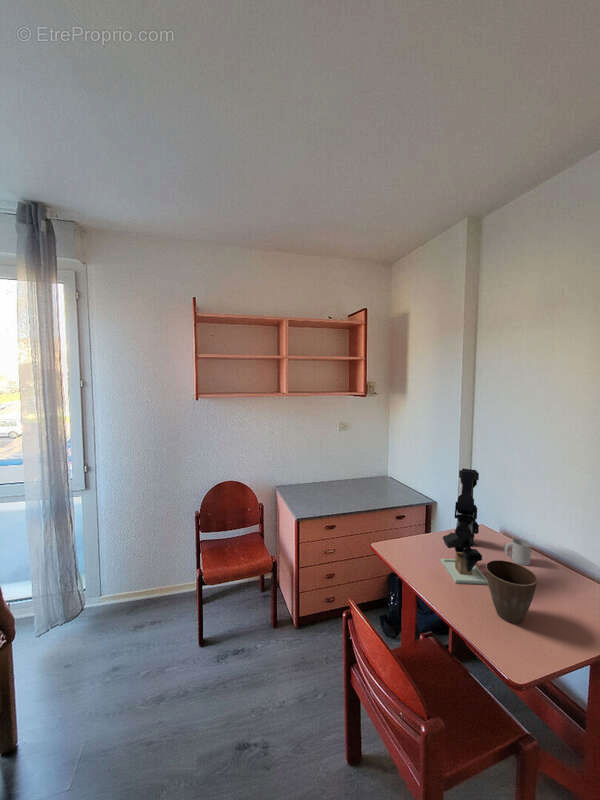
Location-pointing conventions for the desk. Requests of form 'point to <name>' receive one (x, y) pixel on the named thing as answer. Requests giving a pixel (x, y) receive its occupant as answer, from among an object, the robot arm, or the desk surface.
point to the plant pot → (511, 589)
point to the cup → (519, 551)
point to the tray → (463, 578)
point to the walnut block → (461, 564)
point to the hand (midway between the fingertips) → (463, 565)
